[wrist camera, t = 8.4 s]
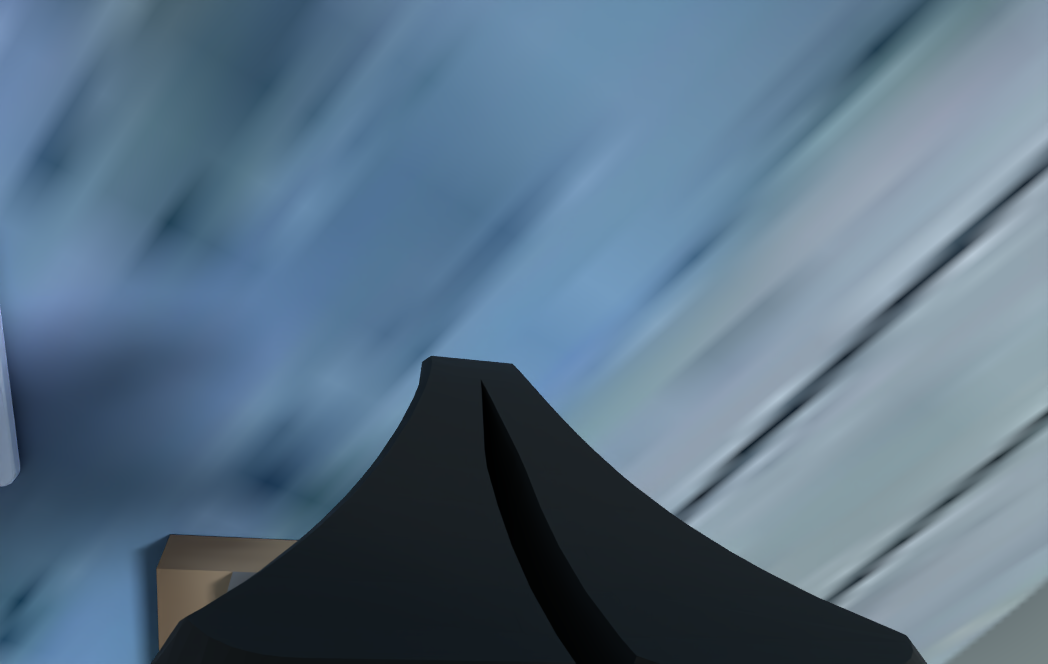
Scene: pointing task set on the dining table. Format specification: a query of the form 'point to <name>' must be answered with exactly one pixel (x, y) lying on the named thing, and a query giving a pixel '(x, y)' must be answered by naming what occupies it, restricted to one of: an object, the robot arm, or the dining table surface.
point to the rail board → (206, 572)
